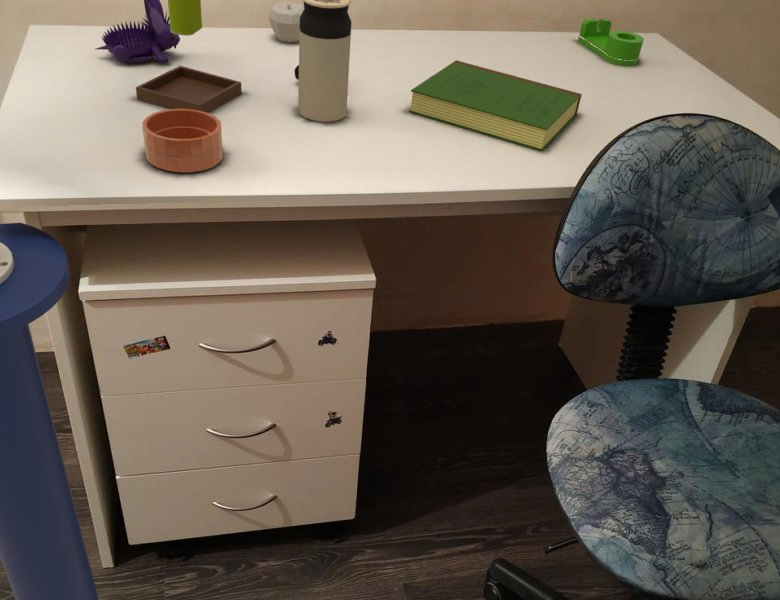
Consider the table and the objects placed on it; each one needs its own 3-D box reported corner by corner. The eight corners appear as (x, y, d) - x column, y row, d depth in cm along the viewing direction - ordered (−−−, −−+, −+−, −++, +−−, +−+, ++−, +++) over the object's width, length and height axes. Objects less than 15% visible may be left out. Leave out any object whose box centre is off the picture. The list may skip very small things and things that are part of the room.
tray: (200, 117, 127) (199, 105, 126) (136, 99, 130) (135, 87, 129) (241, 93, 136) (241, 82, 135) (181, 77, 139) (180, 65, 138)
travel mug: (311, 126, 129) (314, 7, 117) (290, 107, 134) (291, -9, 122) (354, 119, 132) (362, 3, 120) (332, 101, 137) (337, -13, 125)
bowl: (194, 181, 112) (192, 147, 108) (130, 161, 114) (126, 127, 111) (236, 153, 119) (235, 120, 116) (175, 135, 122) (172, 102, 119)
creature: (201, 65, 144) (196, -7, 136) (95, 67, 139) (84, -8, 131) (195, 48, 150) (190, -22, 142) (93, 49, 145) (82, -24, 137)
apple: (311, 47, 156) (312, 11, 152) (271, 46, 155) (271, 10, 150) (305, 33, 162) (306, -2, 158) (266, 32, 160) (266, -3, 156)
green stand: (643, 64, 167) (650, 41, 164) (615, 66, 164) (622, 43, 161) (603, 40, 177) (609, 18, 174) (576, 41, 174) (581, 18, 171)
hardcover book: (576, 114, 143) (581, 94, 140) (542, 151, 130) (547, 128, 127) (449, 79, 150) (452, 59, 148) (404, 110, 137) (407, 88, 135)
